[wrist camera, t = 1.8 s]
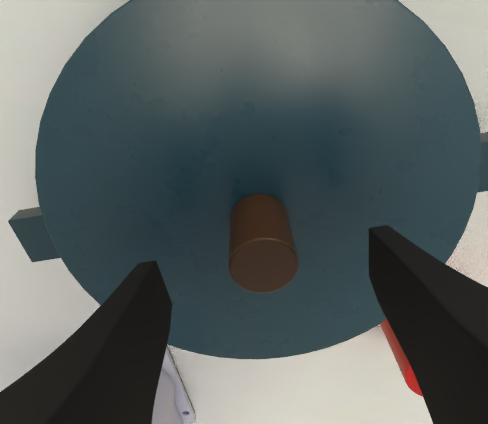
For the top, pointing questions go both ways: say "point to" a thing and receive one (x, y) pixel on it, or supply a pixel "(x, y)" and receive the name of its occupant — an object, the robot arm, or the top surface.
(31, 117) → the top surface
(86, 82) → the lid
